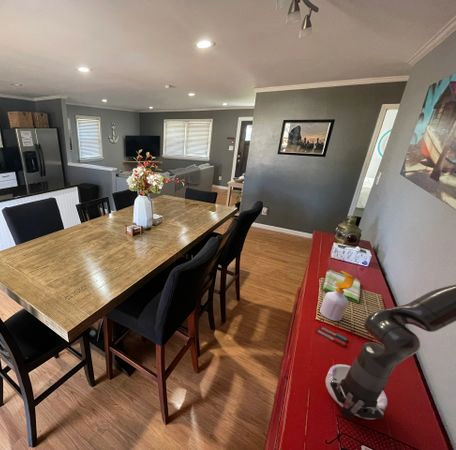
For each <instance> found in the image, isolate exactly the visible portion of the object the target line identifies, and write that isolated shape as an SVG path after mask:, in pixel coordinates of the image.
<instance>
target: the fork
mask: <svg viewBox="0 0 456 450" xmlns="http://www.w3.org/2000/svg"><path fill="white" fill-rule="evenodd" d="M320 330H321V331H323V332H325V333H327V334H330V335H331V336H334V337H336V338H338V339H339V340H341V341H343V342H345V343H347V341H348V338H347V337H345V336H344V335H341V334H339V333H338V332H336V333H334V332H333V331H331V330H330V329H327V328H325V327H323V326H322V327H321V329H320Z"/></svg>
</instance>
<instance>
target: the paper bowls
mask: <svg viewBox="0 0 456 450" xmlns="http://www.w3.org/2000/svg"><path fill="white" fill-rule="evenodd" d="M350 366H351V365H347V364H341V363H339V364H334V365H332V366H331V367H330V368H329V370H328V372H327V375H326V377H325V387H326V389H327V391H328V393H329V395H330V396H331V397H332V399H333V400H334V401H335V402H336V403H337V404H338V405H339V406H340V407H341V408H342V407H343V404H342V403H340V402H339V401H338V400H337V398H336V396H335V393H334V391H333V389H332V387H331V385H330V383H331V381H332V379H333V378H335V379H336V380H337V381H341V380H342V379H345V377H346V375H347V373H348V371H349V369H350ZM341 390H342V388H341ZM342 392H343V390H342ZM343 394H344V392H343ZM344 397H345V398H346V396H345V395H344ZM377 402H378V403H377V405H378V407H379V408H381V409H383V410H384V411H385V410H386V408H387V406H388V397H387V395H386V393H385V391H384V390H383V391H382V393H381V394H380V396H379V398H378V399H377ZM353 403H354V402H352V401H351V404H350V405H351V406H352V405H353ZM351 406H350V407H351ZM361 408H363V407H361ZM354 416H356V417H358V418H361V419H365V420H376V419H377V418H362V417H360V416H359V415H358V414H355V415H354Z"/></svg>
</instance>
